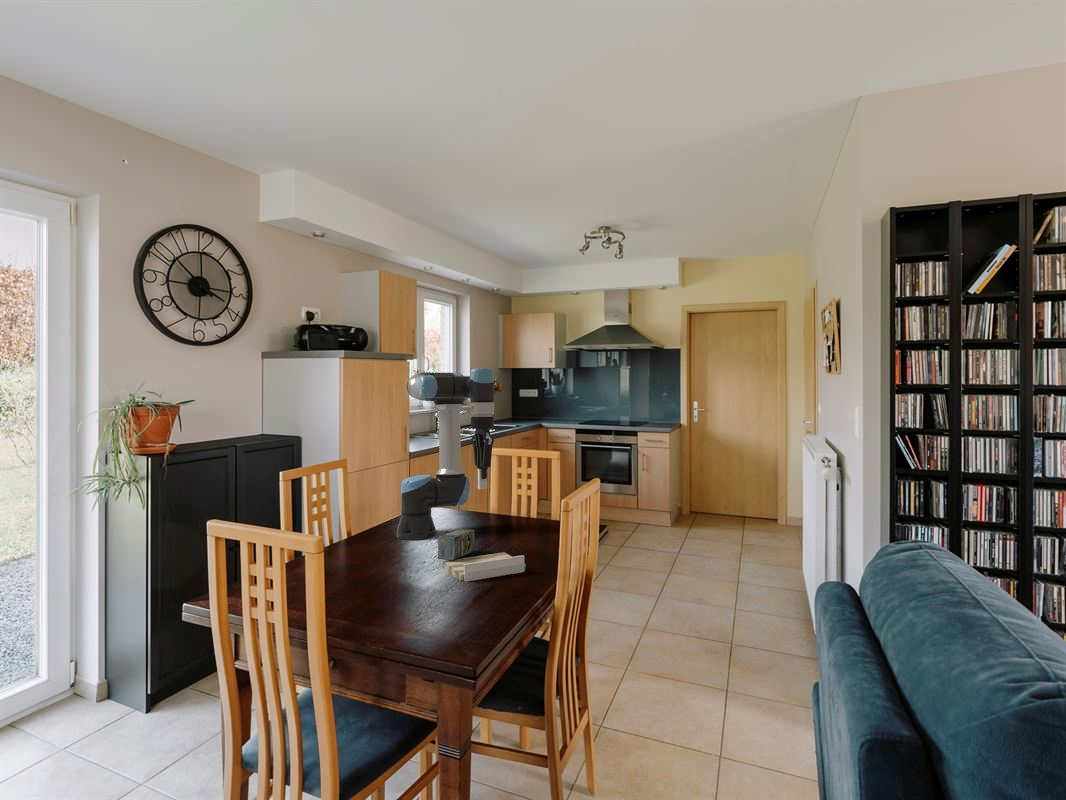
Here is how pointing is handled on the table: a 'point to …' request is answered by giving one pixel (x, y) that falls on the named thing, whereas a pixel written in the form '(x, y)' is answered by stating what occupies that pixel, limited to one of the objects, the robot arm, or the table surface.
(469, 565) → the rail
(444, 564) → the shelf board
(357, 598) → the table surface
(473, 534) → the beverage carton
